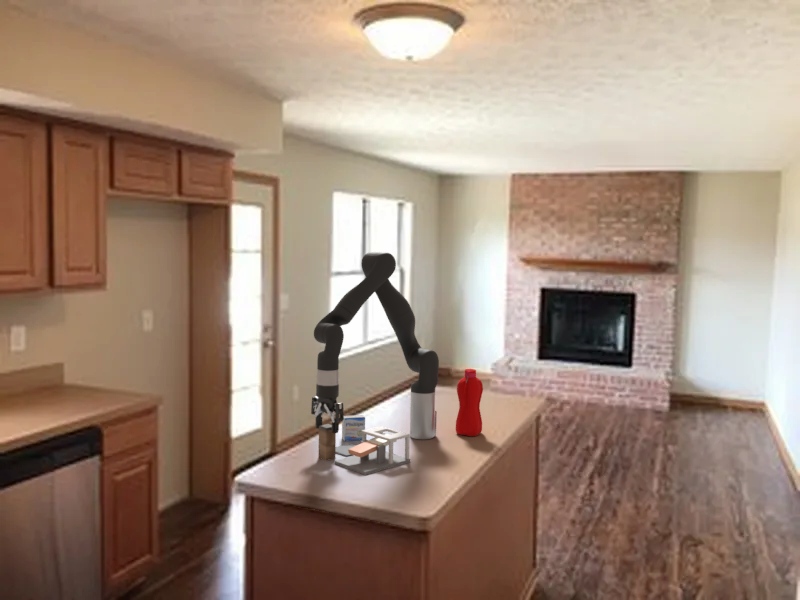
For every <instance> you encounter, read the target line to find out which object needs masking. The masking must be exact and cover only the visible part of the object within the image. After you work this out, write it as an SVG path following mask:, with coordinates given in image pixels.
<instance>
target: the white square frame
mask: <svg viewBox="0 0 800 600" xmlns="http://www.w3.org/2000/svg"><path fill="white" fill-rule="evenodd" d="M386 432H388V433H391V434H388V435H383V434H384V433H386ZM361 433H362V440H360V443H359V444H361V443H363V442H366V441H368V440H369V439H367V436H370V437H372V438H375V437H377V438H380V439H383V440H387V441H389V445H388V451H386V450H387V448H386V447H387V446H385V445H382V446H378V447H377V451H374V452H372V453H370V454H368V455H366V456H364V457H358V456H355V455H351V456H347V457H345V458H341V459H337V460H334V465H337V466H339V467H341V468H345V469H348V470H350V471H353V472H356V473H359V474H362V475H364V476H366V475H369V474H373V473H377V472H381V471H384V470H387V469H390V468H391V469H392V468H394V467H397V466H398V467H399V466H401V465H402V466H403V465H405V464H408V463H411V459H410V443H411V442H410V440H411V439H410V438H411V437H410V433H407V432H403V431H400V430H396V429H392V428H388V427H385V426H382V425H380V426H374V427H371V428H365V430H361ZM401 439H404V440H405V441H404V442H405V443H404V446H405V447H404V456H402V455H398V454H394V443H393V441H394V440H397V441H398V440H401Z"/></svg>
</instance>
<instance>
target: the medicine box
mask: <svg viewBox="0 0 800 600" xmlns="http://www.w3.org/2000/svg"><path fill="white" fill-rule="evenodd" d="M341 422H342V423H341V439H342V440H343V442H357V441H362V433H361V430H366V417H365V416H364V415H363V414H356V415H354V414H353V415H344V420H343V421H341Z"/></svg>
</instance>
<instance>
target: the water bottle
mask: <svg viewBox="0 0 800 600" xmlns="http://www.w3.org/2000/svg"><path fill="white" fill-rule="evenodd" d="M483 387H484V386H483V383H482V380H481V379H480V378H479V377H477V370H476V369H474V368H467V369H466V368H465V370H464V377H461V379H459V381H458V382H457V385H456V394H457V398H458V402H459V403H458V405H459V409H458V413H457V416H456V420H455V432H456V433H457V435H461V436H468V437H476V436H479V435H480V434H482V431H483V420H482V414H481V409H480V404H481V401H482V395H483V392H484V388H483Z"/></svg>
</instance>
